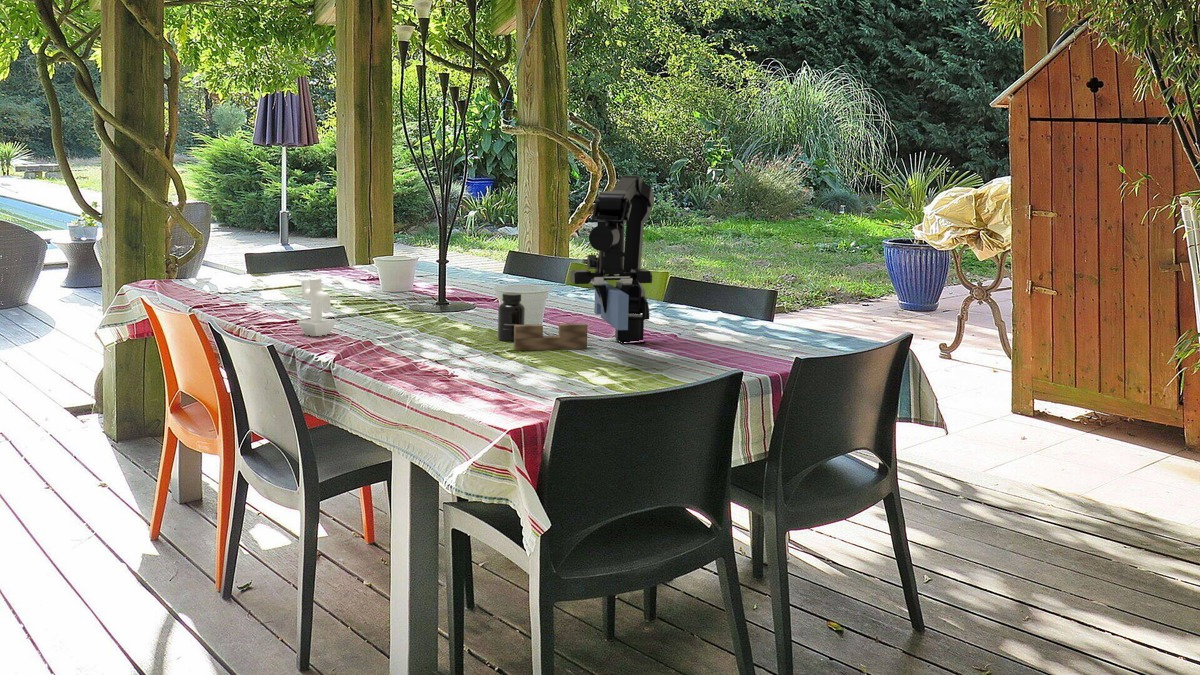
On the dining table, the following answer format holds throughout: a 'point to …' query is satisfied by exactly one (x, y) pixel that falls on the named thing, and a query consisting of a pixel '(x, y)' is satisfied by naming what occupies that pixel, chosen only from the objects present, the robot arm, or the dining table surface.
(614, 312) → the slate blue tapered plate
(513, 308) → the supplement bottle
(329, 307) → the figurine
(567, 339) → the walnut slotted board
